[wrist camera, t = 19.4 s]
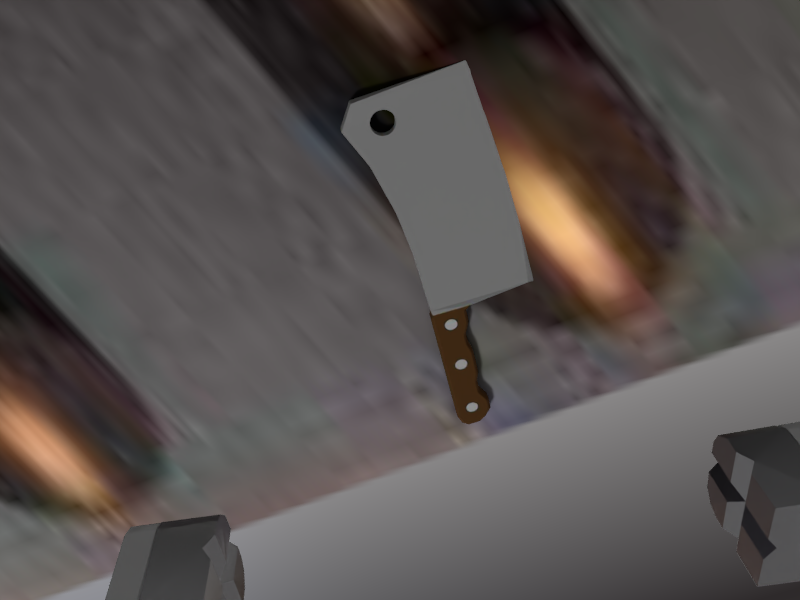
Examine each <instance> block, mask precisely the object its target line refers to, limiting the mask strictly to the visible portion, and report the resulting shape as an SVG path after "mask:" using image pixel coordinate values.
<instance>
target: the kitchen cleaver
mask: <svg viewBox="0 0 800 600" xmlns="http://www.w3.org/2000/svg"><path fill="white" fill-rule="evenodd" d="M383 109H384V110H389V111H390V112H392V113H393V114H394V116H395V123H394V126H393V127H392V128H391V129H390V130H389V131H387V132H384V133H379V132H376V131H374V130H373V129H372V128H371V127H370V119H371V117H372V115H373V114H374V113H375V112H376V111H379V110H383ZM341 132H342V134H343V135H344V136H345V137H346V138H347V140H348V141H349V142H350V143H351V144H352V146H353V147H354V148H355V149H356V150H357V152H358V153H359V154H360V155H361V156H362V158H363V159H364V160H365V161H366V162H367V164H368V165H369V166H370V168H371V169H372V171H373V173H374V175H375V176H376V178H377V180H378V182H379V183H380V185H381V187H382V189H383V191H384V192H385V194H386V196H387V198H388V199H389V201H390V203H391V205H392V207H393V208H394V210H395V212H396V214H397V216H398V219H399V221H400V224H401V226H402V229H403V231H404V233H405V236H406V238H407V241H408V243H409V246H410V248H411V250H412V253H413V256H414V259H415V263H416V266H417V269H418V272H419V276H420V279H421V282H422V285H423V288H424V292H425V295H426V298H427V301H428V305H429V308H430V313H429V314H430V317H431V321H432V325H433V328H434V332H435V336H436V339H437V343H438V347H439V351H440V354H441V358H442V362H443V365H444V369H445V373H446V376H447V380H448V384H449V387H450V391H451V395H452V398H453V402H454V406H455V410H456V413H457V416H458V417H459V419H460V420H461V421H462V422H463V423H466V424H471V423H474V422H478V421H480V420H481V419H482V418H483V417H484V416H485V415H486V414H487V412H488V410H489V409H490V403H489V399H488V396H487V393H486V392H485V391H484V390H483V389H482V388H481V387H480V386H478V382H477V377H478V369H477V365H476V361H475V356H474V352H473V349H472V347H471V345H470V343H469V342H468V340H467V337H466V330H467V326H468V322H469V321H468V316H467V312H466V309H467V308H468V307H469V306H470V305H471V304H474V303H476V302H479V301H482V300H484V299H487V298H489V297H492V296H494V295H497V294H499V293H502V292H504V291H507V290H509V289H512V288H514V287H517V286H519V285H522V284H525V283H527V282H530V281H533V277H532V273H531V269H530V265H529V261H528V257H527V252H526V248H525V244H524V240H523V236H522V232H521V227H520V224H519V220H518V217H517V213H516V210H515V206H514V203H513V199H512V196H511V192H510V188H509V185H508V181H507V178H506V174H505V171H504V169H503V166H502V163H501V160H500V157H499V154H498V151H497V148H496V145H495V142H494V139H493V136H492V133H491V130H490V127H489V125H488V122H487V119H486V116H485V113H484V111H483V108H482V105H481V102H480V99H479V96H478V94H477V91H476V88H475V85H474V82H473V79H472V77H471V71H470V69H469V67H468V65H467V62H466V60H465V61H462V62H459V63H456V64H453V65H450V66H447V67H445V68H442V69H439V70H436V71H433V72H430V73H427V74H424V75H421V76H419V77H416V78H413V79H410V80H407V81H404V82H401V83H398V84H396V85H393V86H390V87H387V88H384V89H381V90H378V91H375V92H372V93H370V94H367V95H364V96H361V97H358V98H355V99H352V100H349V103H348V106H347V110H346V113H345V116H344V119H343V122H342V125H341Z"/></svg>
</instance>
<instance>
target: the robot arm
mask: <svg viewBox="0 0 800 600" xmlns="http://www.w3.org/2000/svg"><path fill="white" fill-rule="evenodd" d="M712 454H713V455H714V457H715V458H716V460H717V462H718V463H717V464H716V465H715V466H714V467H713V468H712V469H711V470H710V471H709V475H708V485H707V488H708V493H709V499H710V504H711V506H712V509H713V511H714V514H715V516H716V518H717V520H718V521H719V523H720V525H721V527H722V528H723V529H724V530H726V531H728V532H729V533H731V534H732V535H734V536H736V537H737V538H739V539H738V544H737V550H736V552H737V553H738V555H739V557H740V559H741V560H742V562H743V563H744V565H745V567H746V568H747V570H748V572H749V573H750V575H751V577H752V579H753V580H754V582H755V584H756V585H757V586H766V585H774V584H781V583H789V582H796V581H800V422H796V423H790V424H784V425H779V426H770V427H764V428H758V429H753V430H747V431H741V432H735V433H730V434H723V435H718V436H717V438H716V439H715V440H714V443H713V449H712ZM230 531H231V528H230V526H229V523H228V521H227V519H226V517H225V515H214V516H206V517H199V518H191V519H183V520H176V521H168V522H161V523H157V524H149V525H142V526H135V527H131V528H130V529H129V530H128V532H127V533H126V535H125V536H124V539H123V542H122V546H121V549H120V552H119V556H118V559H117V562H116V566H115V569H114V572H113V576H112V579H111V582H110V585H109V589H108V592H107V596H106V599H105V600H244V591H245V582H244V568H243V562H242V558H241V555H240V552H239V549H238V547H237V546H236V545H234V544H232V543H231V542H229V538H230Z"/></svg>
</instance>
